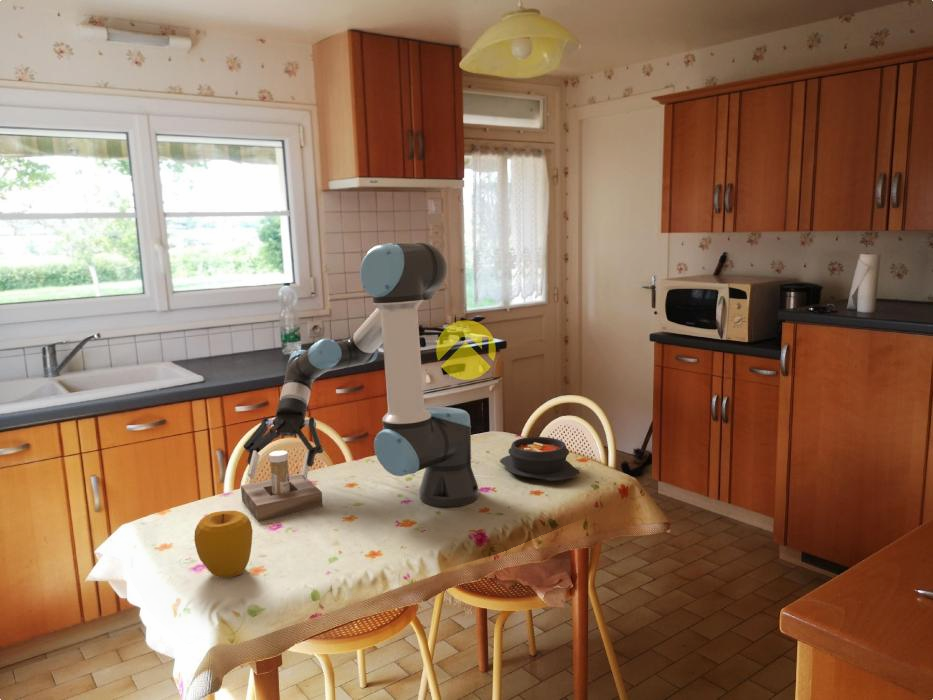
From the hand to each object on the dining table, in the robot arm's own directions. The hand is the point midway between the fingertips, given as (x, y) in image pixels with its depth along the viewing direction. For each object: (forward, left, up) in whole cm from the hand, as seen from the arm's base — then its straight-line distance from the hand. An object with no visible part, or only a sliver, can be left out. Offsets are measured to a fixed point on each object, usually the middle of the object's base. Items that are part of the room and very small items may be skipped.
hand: (276, 477), depth 174 cm
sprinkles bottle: (+2, -1, -8) cm, 8 cm away
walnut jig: (+1, -1, -8) cm, 8 cm away
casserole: (-16, -69, -8) cm, 71 cm away
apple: (-30, +19, -8) cm, 36 cm away
